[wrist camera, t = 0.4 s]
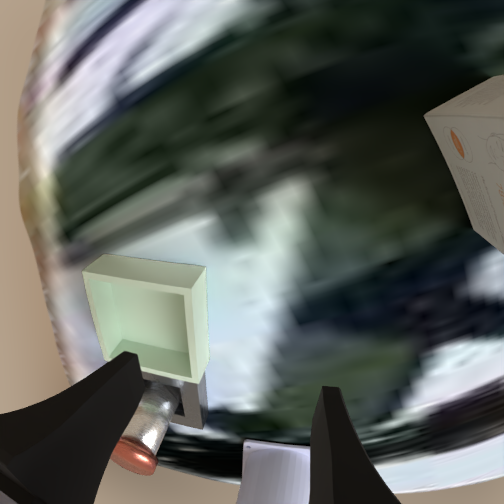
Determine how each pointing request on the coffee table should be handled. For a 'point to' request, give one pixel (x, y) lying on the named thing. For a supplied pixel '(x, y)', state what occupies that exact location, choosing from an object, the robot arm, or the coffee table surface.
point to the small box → (476, 153)
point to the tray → (151, 313)
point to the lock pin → (147, 429)
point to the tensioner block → (186, 400)
